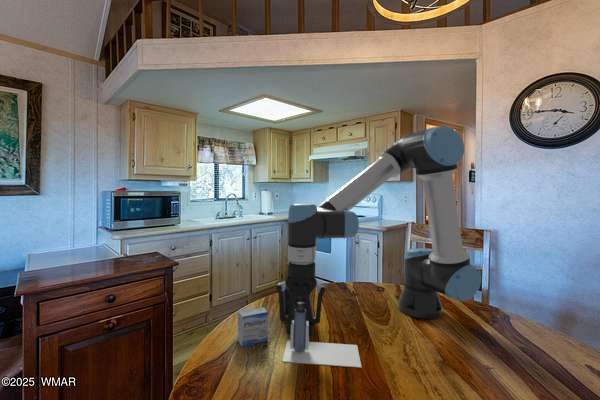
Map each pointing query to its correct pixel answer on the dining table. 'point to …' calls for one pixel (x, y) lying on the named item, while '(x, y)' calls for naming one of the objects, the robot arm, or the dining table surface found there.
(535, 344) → the dining table surface
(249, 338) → the medicine box
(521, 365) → the dining table surface
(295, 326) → the marker
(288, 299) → the mug
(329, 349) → the paper
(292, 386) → the dining table surface
